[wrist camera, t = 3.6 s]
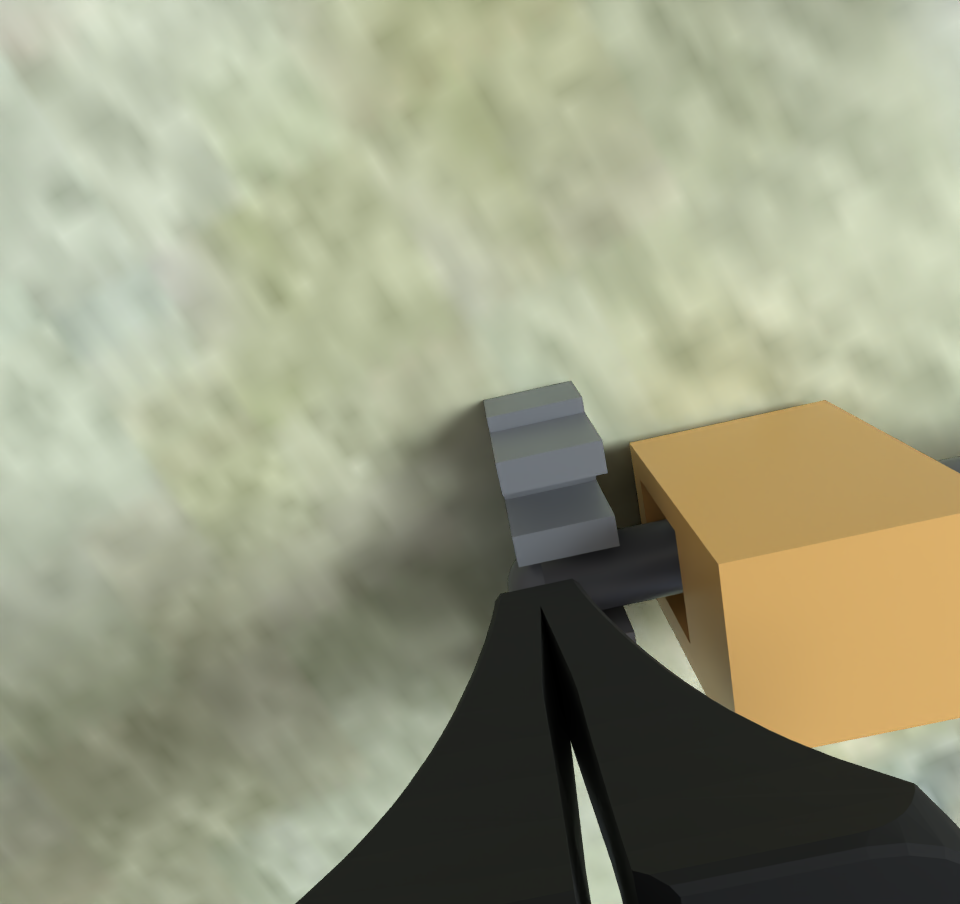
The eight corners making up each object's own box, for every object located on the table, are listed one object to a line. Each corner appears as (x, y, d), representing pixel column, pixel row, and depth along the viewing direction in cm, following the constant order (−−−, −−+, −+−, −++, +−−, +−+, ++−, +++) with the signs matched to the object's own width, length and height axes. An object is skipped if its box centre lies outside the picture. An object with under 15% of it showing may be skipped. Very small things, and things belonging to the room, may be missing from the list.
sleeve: (651, 589, 16) (740, 761, 11) (629, 442, 14) (719, 564, 10) (832, 551, 16) (1002, 709, 11) (825, 400, 14) (1013, 502, 10)
